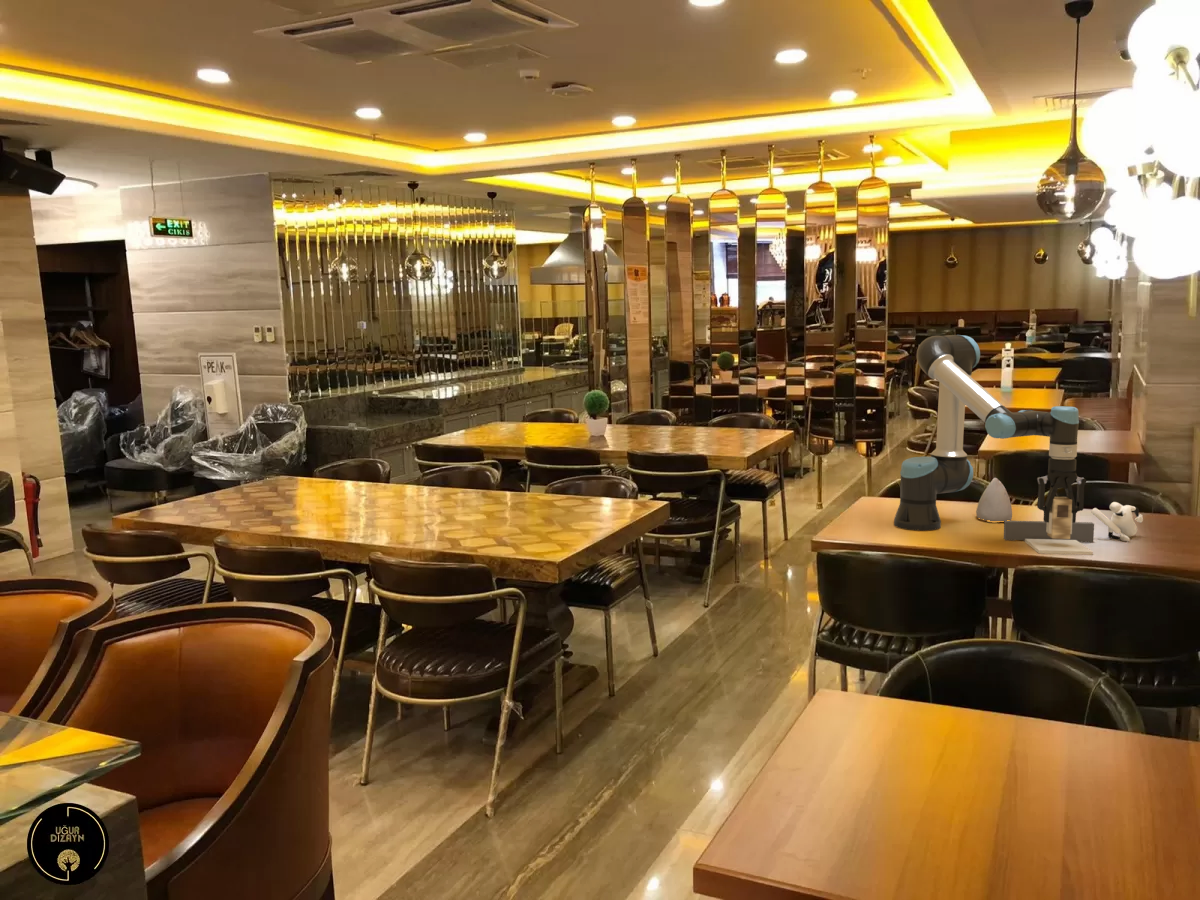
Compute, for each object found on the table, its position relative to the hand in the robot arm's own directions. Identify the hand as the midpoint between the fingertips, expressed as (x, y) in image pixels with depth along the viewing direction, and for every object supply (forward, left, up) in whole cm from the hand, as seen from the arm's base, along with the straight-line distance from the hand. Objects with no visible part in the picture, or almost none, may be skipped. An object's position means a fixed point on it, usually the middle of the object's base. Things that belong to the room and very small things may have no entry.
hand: (1058, 532), depth 278 cm
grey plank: (0, +10, -5) cm, 11 cm away
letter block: (0, 0, -1) cm, 1 cm away
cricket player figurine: (+23, +15, -5) cm, 28 cm away
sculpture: (-9, +41, -5) cm, 42 cm away
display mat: (0, 0, -5) cm, 5 cm away
